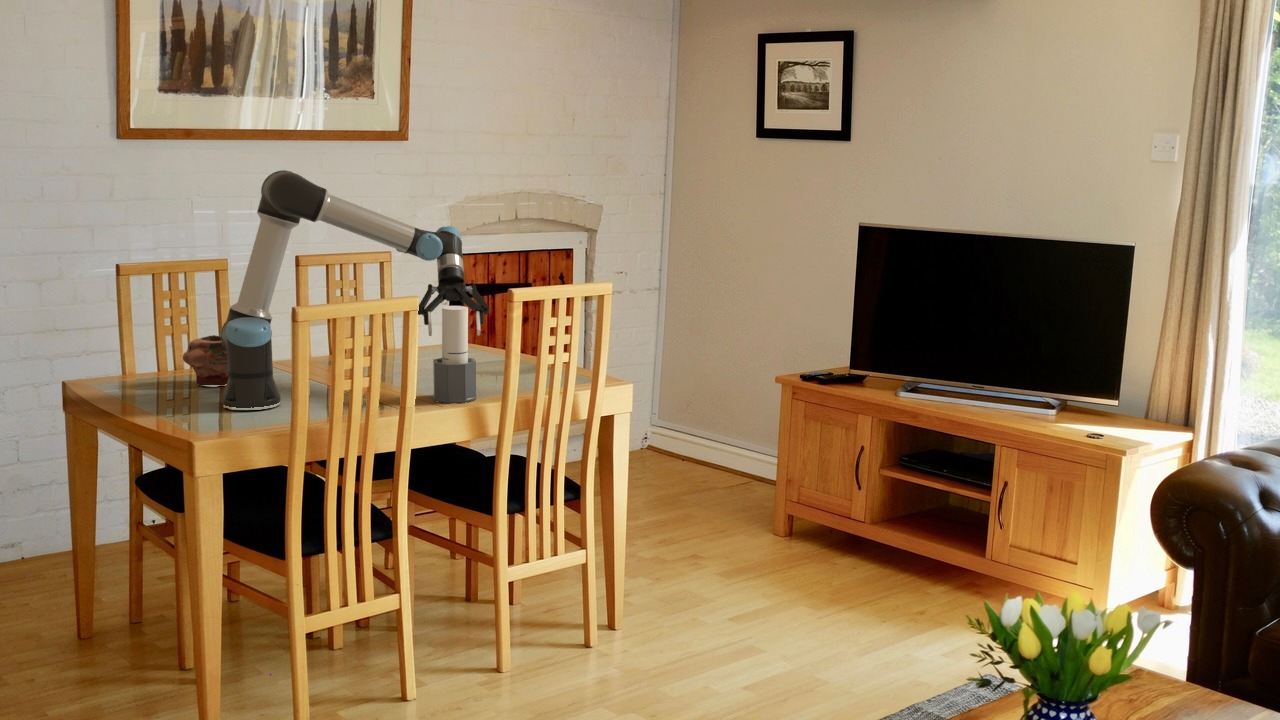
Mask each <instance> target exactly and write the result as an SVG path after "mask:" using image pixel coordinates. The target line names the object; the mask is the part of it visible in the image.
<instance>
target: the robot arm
mask: <svg viewBox="0 0 1280 720" xmlns="http://www.w3.org/2000/svg"><path fill="white" fill-rule="evenodd" d="M260 194H261V197H260V200H259V205H258V207H257V211H256V214H257V215H258V217H259V219H260V222H259V224H258V228H257V231H256V235H255V240H254V243H253V246H252V250H251V254H250V257H249V260H248V264H247V266H246V271H245V275H244V277H243V281H242V285H241V289H240V292H239V295H238V299H237V302H236V303H233V304H232V305H230V306H229V310H228V313H227V318H226V320H225V322H224V323H223V326H222V327H221V329H220V337H221V342H222V345H223V347H224V348H225V350H226V351H227V362H228V382H227V385H226V387H225V389H224V393H223V396H222V406H223V405H225V406H229V407H236V408H251V407H252V408H254V407H264V406H270V405H274V404H277V403H279V402H280V401H281V400H282V399H281V395H280V392H279V389H278V387H277V383H276V380H275V378H274V373H273V372H274V371H273V370H274V369H273V368H274V366H273V346H272V344H273V343H272V335H273V331H272V328H271V327H272V325H271V323H272V319H273V317H272V315H271V313H270V311H269V310H270V306H271V303H272V299H273V295H274V292H275V289H276V286H277V282H278V279H279V278H278V277H279V275H280V271H281V267H282V265H283V264H282V263H283V260H284V258H285V254H286V250H287V247H288V243H289V240H290V238H291V237H290V236H291V233H292V230H293V229H294V228H296V227H298V226H299V224H300V222H301V219H304V220H307V221H310V222H313V223H316V222H318V221H320V222H324V223H326V224H328V225H330V226H331V225H332V226H335V227H336V228H340V229H343V230H345V231H347V232H349V233H353V234H356V235H359V236H361V237H364V238H367V239H370V240H372V241H375V242H377V243H379V244H382V245H385V246H388V247H391V248H393V249H395V250H396V251H397V252H399V253H404V254H408V255H411V256H414V257H417V258H419V259H421V260H423V261H429V262H431V261H435V260H436V263H437V264H436V265H437V266H436V267H437V283H438V285H437V286H433V284H431V283H429V284H427V291H426V293H425V294H424V295H423V297H422V299H421V301H420V303H418V306H419V311H418V314H417V315H418V316H421V315H422V316H423V324H424V325H426V326H428V330H427V331H428V336H429V337H432V332H433V328H432V327H433V326H432V312H433V311H434V310H436V308H437V307H439V305H441V304H442V303H443V302H444V301H446V302H451V301H452V302H453V301H454V302H458V301H460V302H461V303H463V304H465V305H466V307H468V309H471V311H473V312H474V313H475V320H476V333H477V336H481V330H482V329H481V325H484V321H485V320H484V316H485V315H489V311H490V306H489V305H488V304H487V303H486V301H485V300H484V298H483V297H482V295H481V294H480V293H479V291H478V289H477V286H476V285H477V284H475V283H472V284H471V285H469V286H466V282H465V274H464V273H465V272H464V271H465V270H464V260H463V259H464V258H463V240H462V235H461V233H460V230H458V228H457V227H455V226H452V225H447V226H442V227H439V228H438V229H436V231H430V230H424V229H420V228H417V227H415V226H412V225H409V224H407V223H405V222H402V221H399V220H397V219H394V218H391V217H388V216H386V215H384V214H382V213H378V212H376V211H374V210H371V209H368V208H366V207H363V206H360V205H358V204H355V203H353V202H350V201H348V200H346V199H343V198H341V197H337V196H335V195H333V194H330V193H329V192H328V189H327V188H324V187H322V186H320V185H317V184H315V183H313V182H312V181H310V180H308V179H306V178H305V177H304V176H302V175H300V174H298V173H294V172H293V171H291V170H285V169H283V170H276V171H273V172H272V173H270V174H269V175H268V176H267V177H266V178H265V179H264V181H263V183H262V185H261V189H260ZM435 292H437V293H438V294H437V295H436V297H435V298H434V299H432V301H431V302H430V303H429V301H430V299H431V298H432V295H434V294H435ZM467 292H468V293H469V294H470V295H471V296H472V298H473V299H472V298H471V297H470V296H469V295H468V293H467ZM474 300H475V301H474Z"/></svg>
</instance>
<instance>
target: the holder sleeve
mask: <svg viewBox="0 0 1280 720" xmlns="http://www.w3.org/2000/svg"><path fill="white" fill-rule="evenodd" d="M432 360H433V361H432V362H433V364H432V365H433V367H432V368H433V369H432V370H433V374H432V375H433V401H434V400H436V401H438V402H437V403H440V402H443V403H442V404H450V403H457V404H466V403H465V402H467V403H472V402H474V401H476V400H477V362H476V361H477V360H475V358H473V357H468V363H464V364H445V363H442V357H438V358H434V359H432ZM436 401H435V402H436ZM471 401H472V402H471Z"/></svg>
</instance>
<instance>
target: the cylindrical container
mask: <svg viewBox="0 0 1280 720" xmlns="http://www.w3.org/2000/svg"><path fill="white" fill-rule="evenodd" d="M441 321H442V322H441V356H442V357H441V358H442V363H445V364H464V363H468V358H469V344H468V343H469V307H468V306H463V305H446V306H442V307H441Z"/></svg>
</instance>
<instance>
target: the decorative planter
mask: <svg viewBox="0 0 1280 720" xmlns="http://www.w3.org/2000/svg"><path fill="white" fill-rule="evenodd" d="M220 336H221V335H220ZM220 336H219V335H214V334H213V335H207V336H204V337H200V338H196V339H195V338H194V339H193V340H191V341H190V342H189V344H188V345H187V350H186V351H185V352H183V354H182V360H183V362H184V363H185V364H187V365H188V366H190V367H192V369H193V370H194V373H195V377H196V379H195V380H196V381H195V382H196V385H197V384H199V385H225V384H227V382H228V362H227V351H226V350H225V348H224V347H223V345H222V342H221V337H220ZM199 385H198V386H199Z"/></svg>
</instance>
